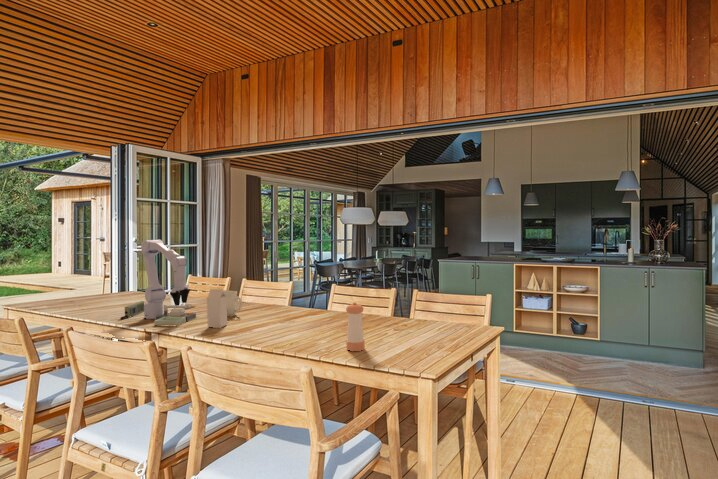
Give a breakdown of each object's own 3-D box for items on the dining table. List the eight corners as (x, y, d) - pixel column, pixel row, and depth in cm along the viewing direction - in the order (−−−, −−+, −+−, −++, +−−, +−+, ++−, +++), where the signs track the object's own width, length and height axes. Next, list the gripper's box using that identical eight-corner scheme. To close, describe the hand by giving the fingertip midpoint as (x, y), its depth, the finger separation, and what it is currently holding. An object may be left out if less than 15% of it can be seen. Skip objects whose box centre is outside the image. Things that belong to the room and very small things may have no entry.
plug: (170, 320, 253) (169, 309, 252) (175, 318, 258) (175, 307, 258) (180, 320, 252) (179, 309, 252) (185, 318, 258) (185, 307, 257)
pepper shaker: (364, 346, 192) (363, 300, 191) (365, 351, 184) (364, 303, 183) (346, 347, 191) (345, 301, 191) (346, 352, 184) (345, 304, 183)
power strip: (155, 321, 251) (155, 315, 251) (165, 317, 261) (165, 311, 261) (187, 321, 249) (187, 315, 249) (196, 317, 259) (195, 312, 259)
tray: (154, 326, 239) (154, 320, 239) (164, 321, 249) (164, 316, 249) (176, 326, 238) (176, 320, 238) (185, 322, 248) (185, 316, 248)
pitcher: (235, 318, 255) (234, 293, 254) (211, 315, 263) (210, 291, 263) (248, 314, 265) (248, 290, 264) (225, 312, 273) (224, 289, 273)
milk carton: (220, 328, 231) (219, 290, 231) (207, 327, 233) (206, 290, 232) (227, 325, 238) (226, 288, 238) (214, 324, 240) (213, 288, 239)
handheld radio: (145, 311, 282) (124, 320, 257) (140, 312, 282) (118, 320, 257) (145, 300, 281) (123, 308, 256) (139, 301, 281) (118, 308, 256)
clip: (163, 314, 255) (162, 305, 255) (165, 313, 257) (164, 304, 257) (189, 314, 253) (189, 305, 253) (191, 314, 255) (191, 305, 255)
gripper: (180, 280, 240) (181, 306, 241) (193, 277, 255) (194, 301, 255) (167, 280, 241) (168, 306, 241) (181, 277, 255) (182, 301, 256)
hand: (180, 304), depth 248 cm, fingers open, 7 cm apart
